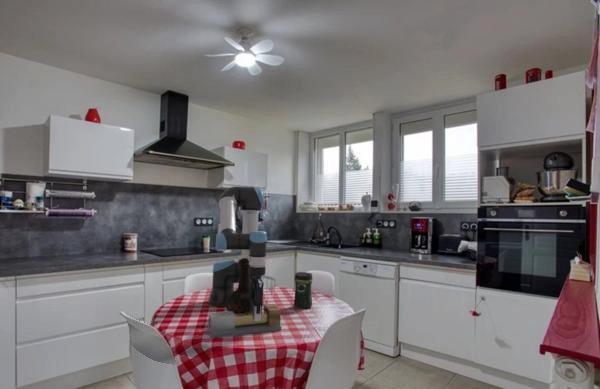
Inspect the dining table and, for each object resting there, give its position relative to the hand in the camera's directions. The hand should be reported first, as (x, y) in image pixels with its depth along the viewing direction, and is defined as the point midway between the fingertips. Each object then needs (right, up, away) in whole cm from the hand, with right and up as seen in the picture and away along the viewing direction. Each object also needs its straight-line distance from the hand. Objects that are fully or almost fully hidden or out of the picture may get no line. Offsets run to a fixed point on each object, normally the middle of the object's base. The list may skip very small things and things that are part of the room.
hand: (255, 318), depth 150 cm
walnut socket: (+7, -3, +3) cm, 8 cm away
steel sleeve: (-14, -2, -6) cm, 15 cm away
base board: (-5, -4, -2) cm, 6 cm away
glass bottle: (-8, -5, +16) cm, 19 cm away
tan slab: (-2, -2, -1) cm, 3 cm away
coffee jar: (+21, -7, +35) cm, 41 cm away
